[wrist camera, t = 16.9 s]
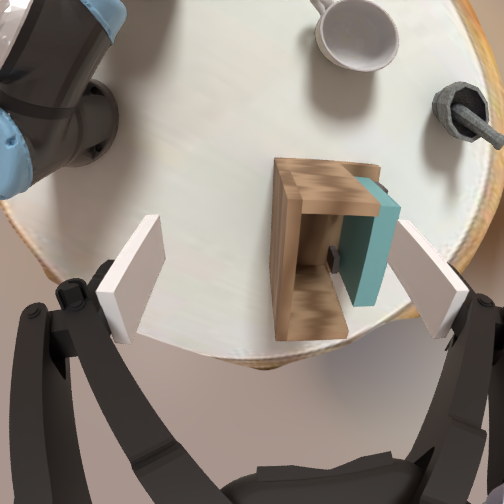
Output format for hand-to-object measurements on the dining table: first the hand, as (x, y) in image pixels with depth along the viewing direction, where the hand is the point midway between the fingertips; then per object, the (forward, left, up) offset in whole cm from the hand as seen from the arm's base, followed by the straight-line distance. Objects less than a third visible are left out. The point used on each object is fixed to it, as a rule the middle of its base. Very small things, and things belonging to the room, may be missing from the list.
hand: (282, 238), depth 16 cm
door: (+16, -13, -30) cm, 36 cm away
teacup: (+11, +18, -32) cm, 38 cm away
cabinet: (+10, -13, -32) cm, 36 cm away
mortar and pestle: (+32, +9, -32) cm, 46 cm away
